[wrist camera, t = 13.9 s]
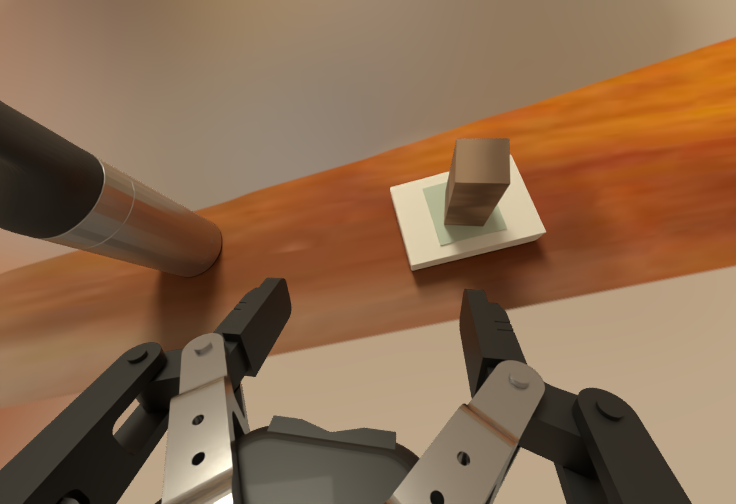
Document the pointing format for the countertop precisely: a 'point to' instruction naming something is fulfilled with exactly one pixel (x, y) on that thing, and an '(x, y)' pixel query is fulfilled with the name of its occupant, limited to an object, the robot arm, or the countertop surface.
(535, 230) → the plinth
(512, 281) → the countertop surface
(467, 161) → the walnut block
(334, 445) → the robot arm
